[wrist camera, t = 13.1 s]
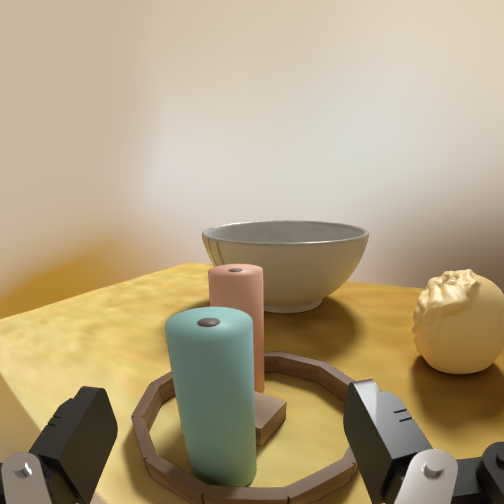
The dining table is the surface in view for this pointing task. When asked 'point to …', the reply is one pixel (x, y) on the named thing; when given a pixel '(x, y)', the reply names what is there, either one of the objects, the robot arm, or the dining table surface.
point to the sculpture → (459, 322)
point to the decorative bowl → (290, 257)
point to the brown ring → (266, 422)
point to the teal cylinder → (215, 392)
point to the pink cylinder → (242, 304)
